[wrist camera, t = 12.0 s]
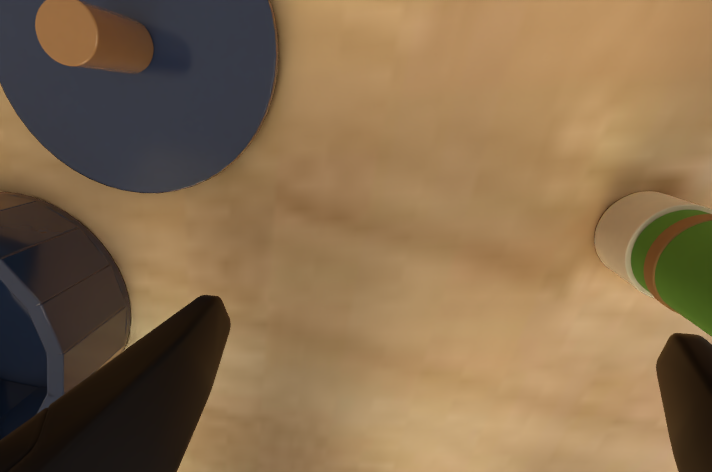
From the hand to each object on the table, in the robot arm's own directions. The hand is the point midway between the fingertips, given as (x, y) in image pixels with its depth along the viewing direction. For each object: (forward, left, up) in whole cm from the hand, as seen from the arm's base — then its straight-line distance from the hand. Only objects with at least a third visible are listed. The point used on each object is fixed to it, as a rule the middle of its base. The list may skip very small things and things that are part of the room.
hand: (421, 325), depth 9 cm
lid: (+6, +13, -13) cm, 19 cm away
